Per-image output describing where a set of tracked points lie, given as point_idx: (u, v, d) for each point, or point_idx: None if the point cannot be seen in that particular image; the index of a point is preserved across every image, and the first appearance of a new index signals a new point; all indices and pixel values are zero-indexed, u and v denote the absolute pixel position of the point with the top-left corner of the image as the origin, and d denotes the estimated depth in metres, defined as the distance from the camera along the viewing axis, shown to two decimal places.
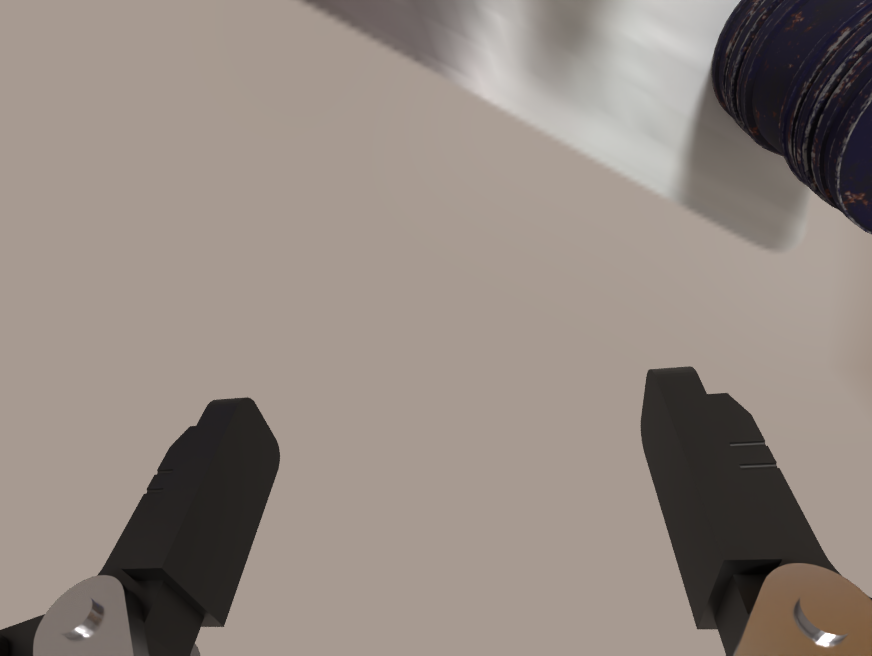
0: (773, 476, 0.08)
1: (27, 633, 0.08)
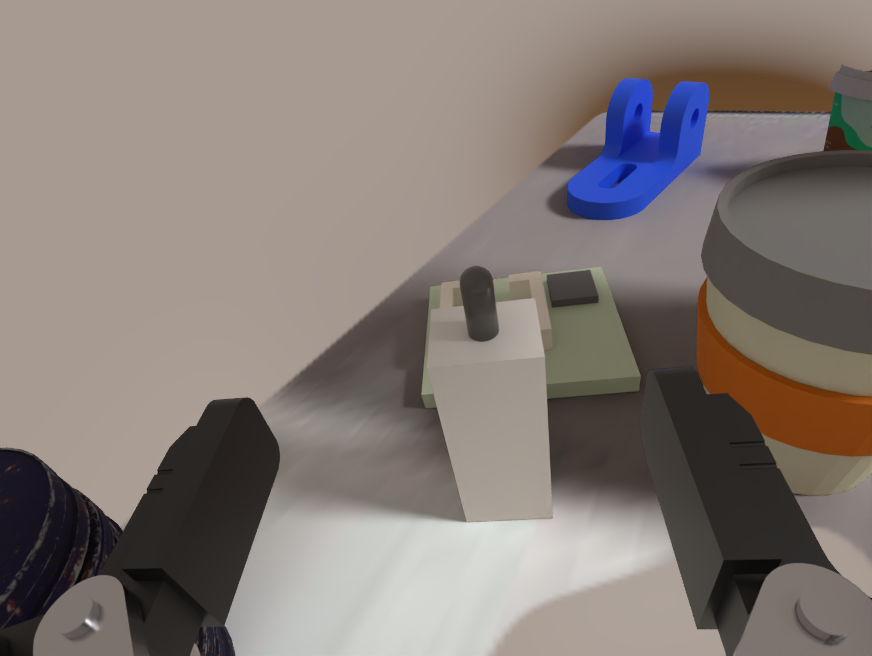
0: (773, 476, 0.08)
1: (26, 633, 0.08)
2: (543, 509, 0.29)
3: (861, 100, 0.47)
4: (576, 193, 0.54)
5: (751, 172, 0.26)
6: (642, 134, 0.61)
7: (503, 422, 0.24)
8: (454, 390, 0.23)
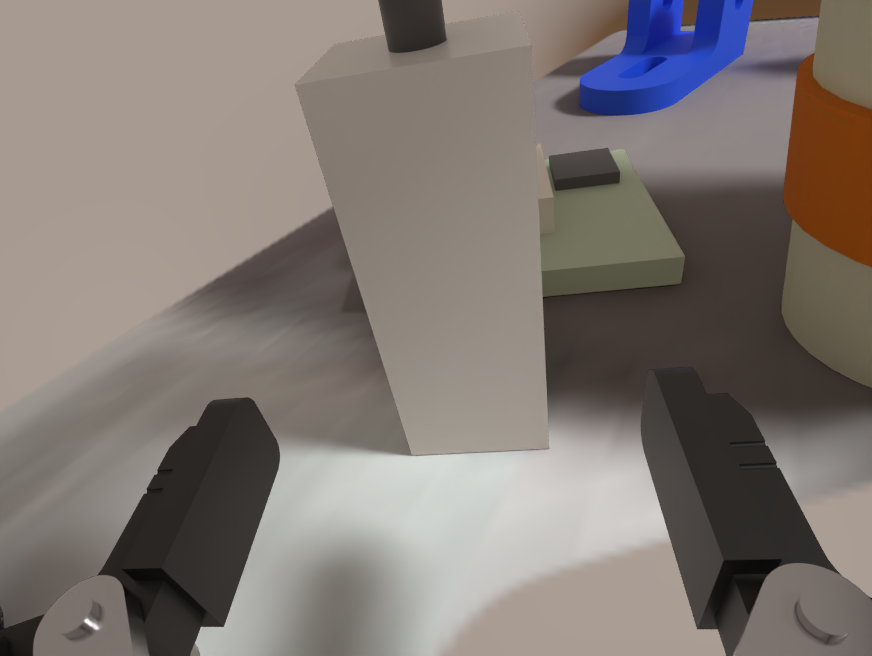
0: (773, 476, 0.08)
1: (26, 633, 0.08)
2: (534, 432, 0.18)
3: None
4: (590, 84, 0.43)
5: None
6: (671, 31, 0.50)
7: (457, 236, 0.13)
8: (356, 149, 0.12)
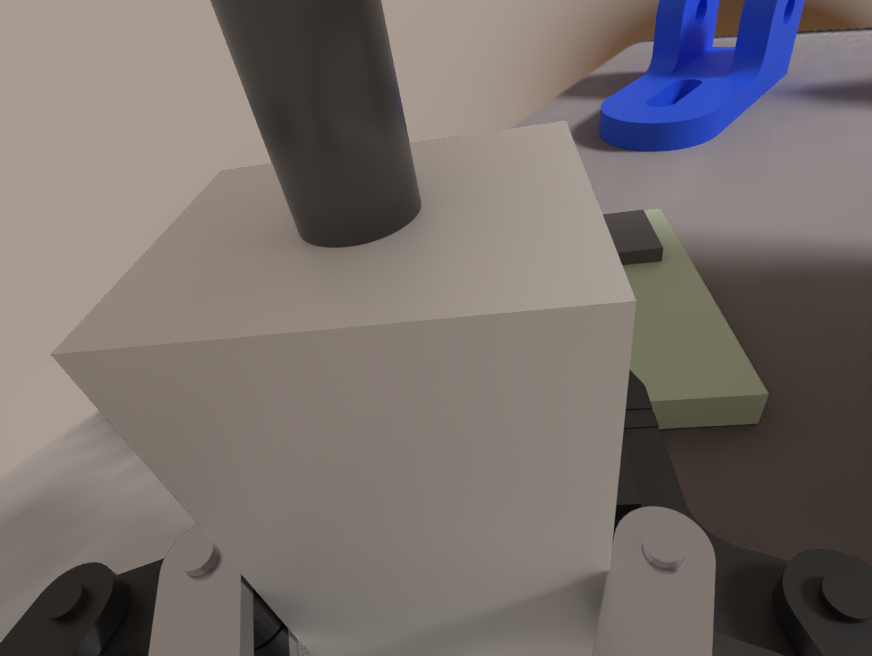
0: (653, 437, 0.08)
1: (143, 577, 0.08)
2: None
3: None
4: (614, 114, 0.37)
5: None
6: (703, 47, 0.44)
7: (446, 566, 0.07)
8: (224, 454, 0.05)
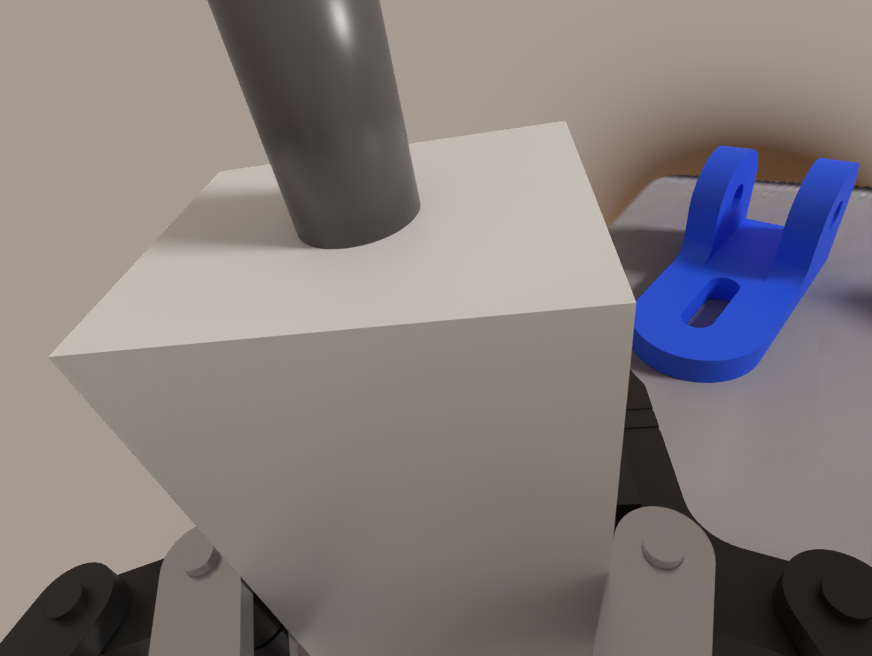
0: (653, 437, 0.08)
1: (143, 577, 0.08)
2: None
3: None
4: (647, 333, 0.34)
5: None
6: (737, 224, 0.41)
7: (446, 568, 0.07)
8: (221, 457, 0.05)
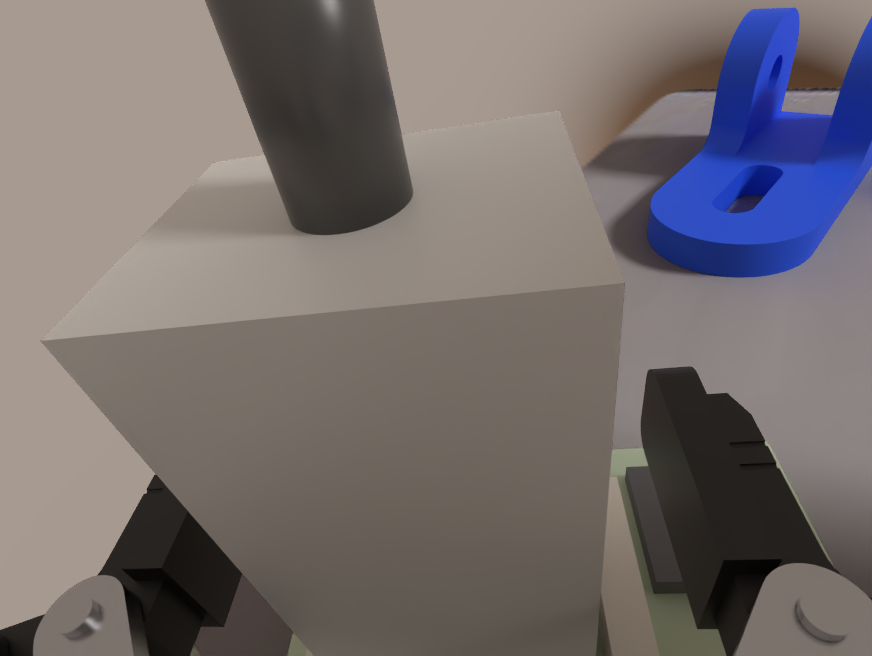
0: (773, 476, 0.08)
1: (26, 633, 0.08)
2: None
3: None
4: (672, 222, 0.27)
5: None
6: (772, 115, 0.35)
7: (440, 556, 0.07)
8: (215, 443, 0.05)
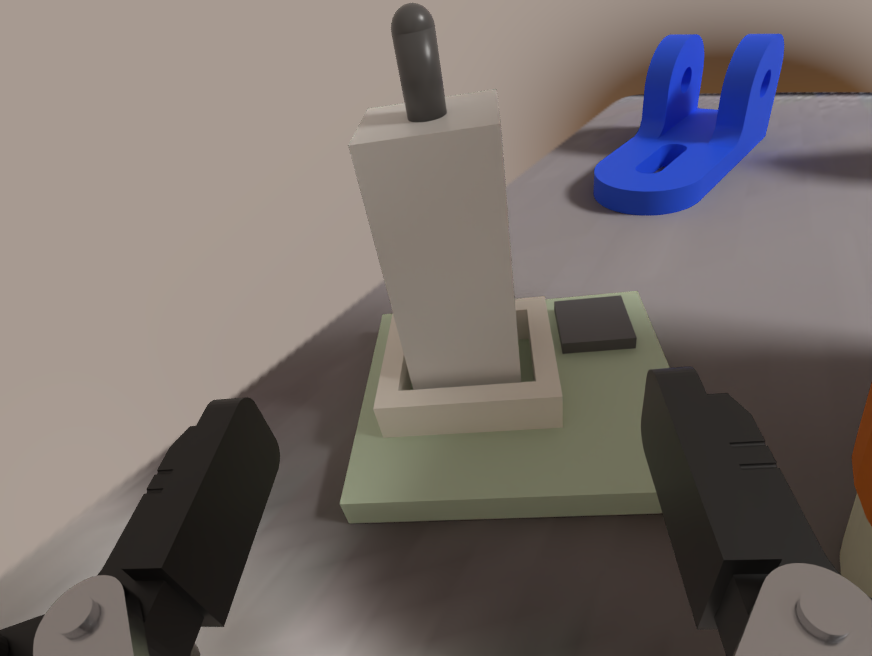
0: (773, 476, 0.08)
1: (26, 633, 0.08)
2: None
3: None
4: (606, 179, 0.40)
5: None
6: (688, 110, 0.48)
7: (453, 244, 0.19)
8: (387, 186, 0.18)
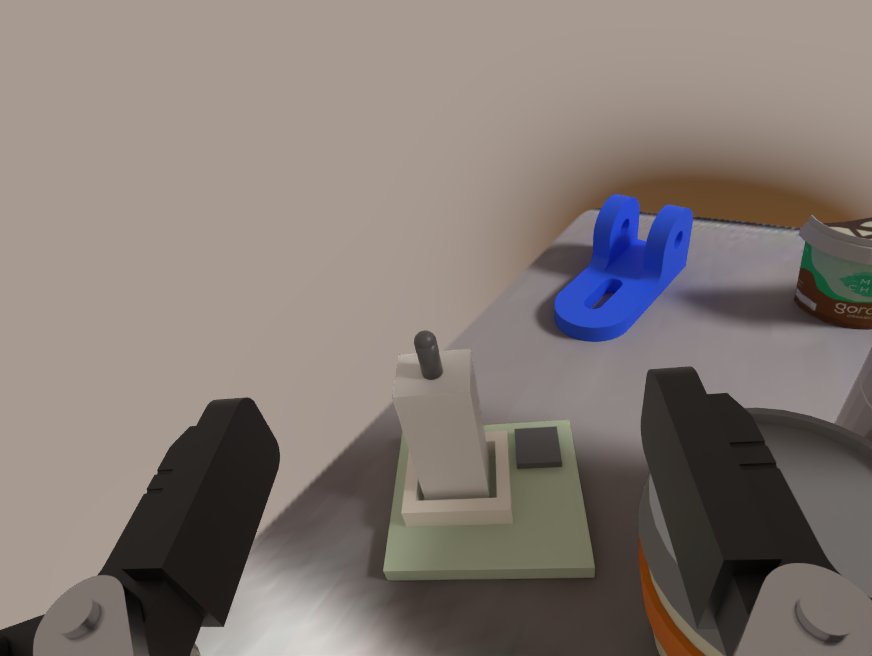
0: (773, 476, 0.08)
1: (26, 633, 0.08)
2: None
3: (829, 253, 0.47)
4: (562, 312, 0.56)
5: None
6: (629, 243, 0.63)
7: (447, 435, 0.35)
8: (411, 412, 0.34)
